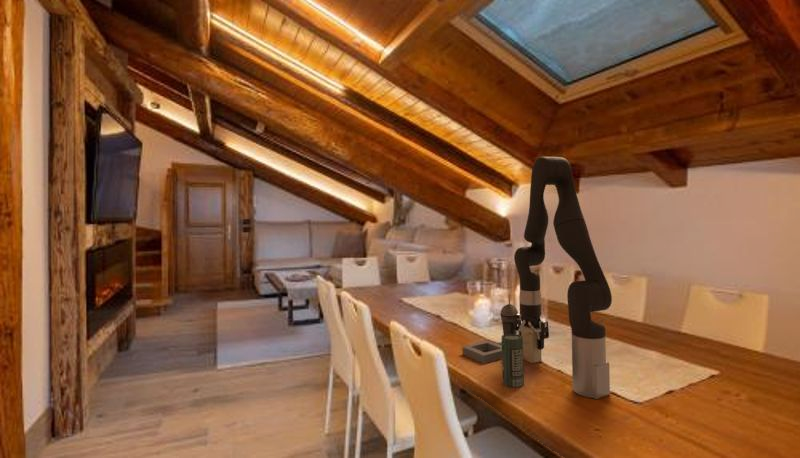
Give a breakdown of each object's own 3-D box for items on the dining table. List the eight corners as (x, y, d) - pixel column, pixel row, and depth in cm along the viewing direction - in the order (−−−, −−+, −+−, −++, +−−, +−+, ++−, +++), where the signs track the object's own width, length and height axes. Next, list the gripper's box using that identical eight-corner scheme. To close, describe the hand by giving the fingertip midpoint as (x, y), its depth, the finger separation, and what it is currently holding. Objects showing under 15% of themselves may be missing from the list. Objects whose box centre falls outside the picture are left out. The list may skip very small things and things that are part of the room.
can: (515, 378, 137) (514, 332, 137) (527, 385, 132) (526, 337, 131) (499, 381, 135) (498, 335, 135) (511, 389, 130) (509, 340, 129)
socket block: (510, 356, 157) (510, 348, 157) (483, 363, 151) (483, 355, 151) (488, 347, 168) (488, 340, 168) (462, 354, 161) (462, 346, 161)
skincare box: (521, 358, 155) (520, 325, 154) (530, 356, 157) (529, 323, 156) (533, 363, 149) (532, 329, 149) (542, 361, 151) (541, 327, 150)
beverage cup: (517, 339, 177) (516, 291, 176) (520, 345, 169) (519, 295, 168) (499, 339, 177) (498, 292, 176) (502, 345, 170) (500, 296, 169)
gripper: (553, 303, 148) (554, 349, 149) (523, 296, 160) (524, 339, 161) (538, 307, 144) (539, 353, 145) (508, 299, 156) (509, 342, 157)
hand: (531, 346), depth 153 cm, fingers open, 8 cm apart
